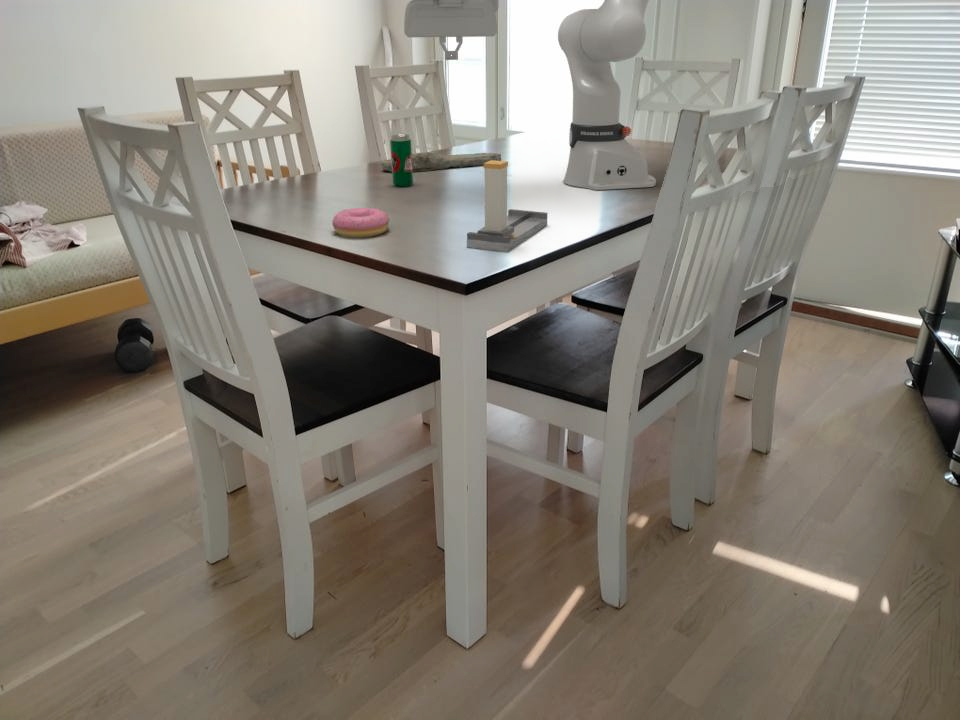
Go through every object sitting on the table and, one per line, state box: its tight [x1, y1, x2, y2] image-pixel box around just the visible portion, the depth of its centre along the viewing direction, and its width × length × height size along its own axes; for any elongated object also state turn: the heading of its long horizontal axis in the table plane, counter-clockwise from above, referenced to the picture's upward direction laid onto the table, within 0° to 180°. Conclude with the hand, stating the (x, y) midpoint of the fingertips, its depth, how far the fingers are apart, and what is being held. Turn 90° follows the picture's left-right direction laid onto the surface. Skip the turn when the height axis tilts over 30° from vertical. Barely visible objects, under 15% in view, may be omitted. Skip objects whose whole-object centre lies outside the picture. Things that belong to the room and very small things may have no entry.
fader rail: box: [466, 208, 548, 253], centre depth 138 cm, size 20×8×2 cm, turn 155°
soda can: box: [389, 133, 414, 188], centre depth 179 cm, size 5×5×12 cm
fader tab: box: [477, 160, 514, 236], centre depth 130 cm, size 5×5×13 cm
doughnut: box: [331, 207, 390, 239], centre depth 142 cm, size 11×11×4 cm
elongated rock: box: [381, 151, 502, 173], centre depth 203 cm, size 35×5×10 cm
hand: (451, 59), depth 162 cm, fingers closed
